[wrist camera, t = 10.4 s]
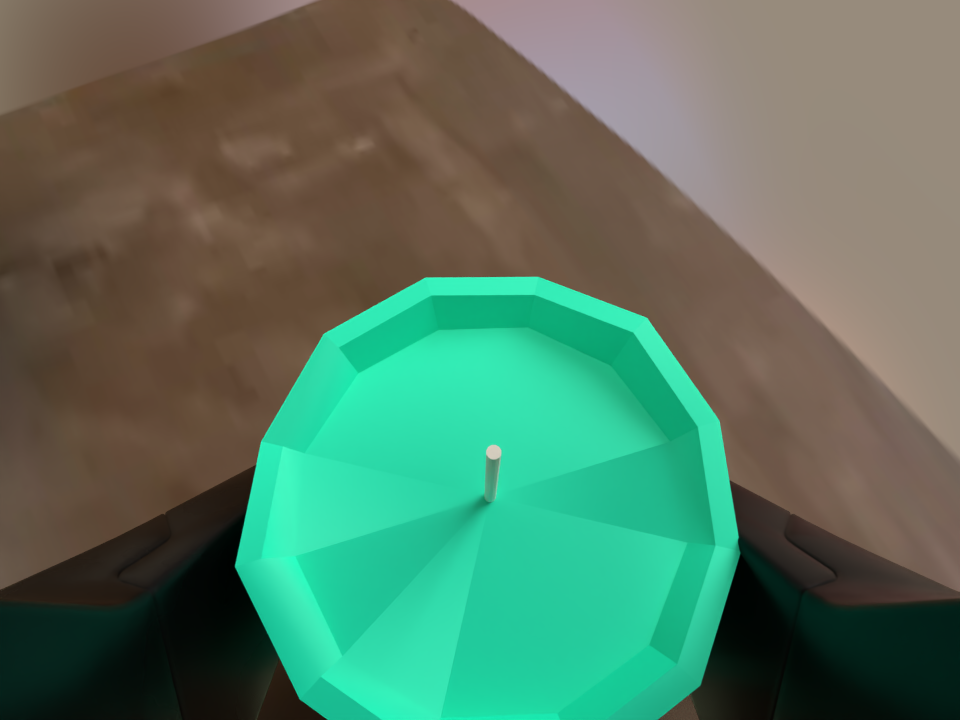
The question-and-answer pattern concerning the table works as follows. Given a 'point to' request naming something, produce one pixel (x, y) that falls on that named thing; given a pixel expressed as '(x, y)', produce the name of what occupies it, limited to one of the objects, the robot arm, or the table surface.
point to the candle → (491, 512)
